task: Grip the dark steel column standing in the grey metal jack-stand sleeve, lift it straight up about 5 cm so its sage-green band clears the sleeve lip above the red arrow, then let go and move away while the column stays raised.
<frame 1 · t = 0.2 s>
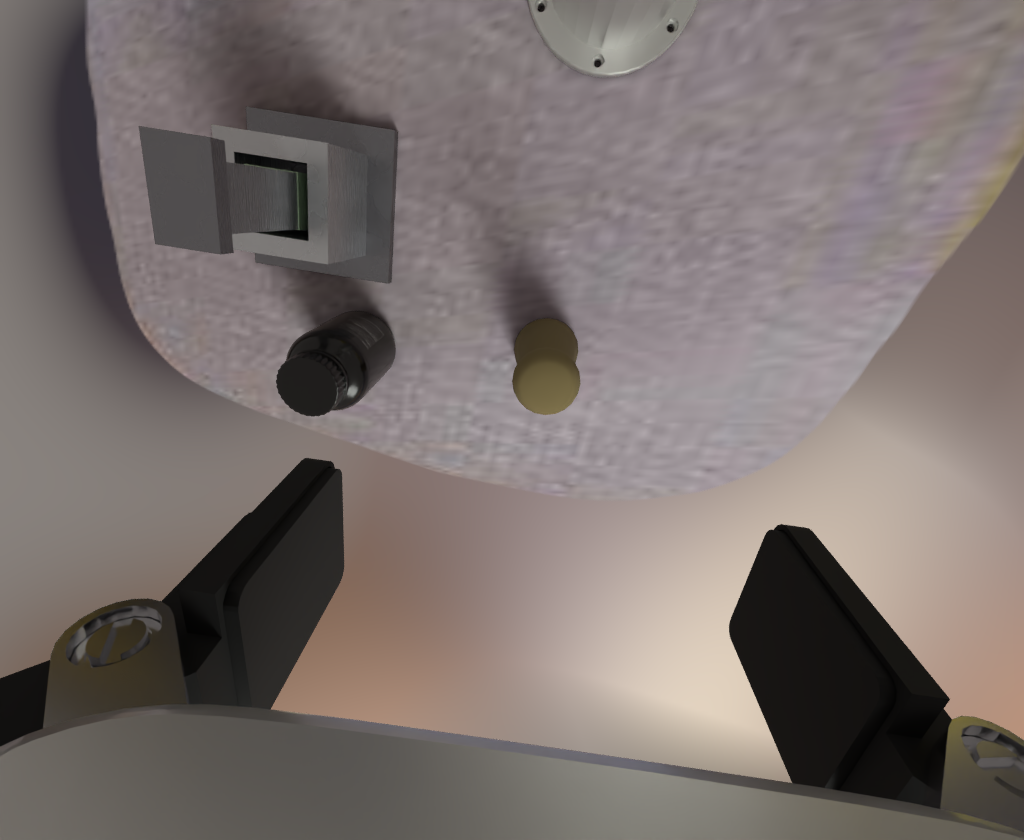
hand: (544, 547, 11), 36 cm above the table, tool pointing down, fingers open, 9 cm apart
column: (265, 197, 33), point 10 cm above the table, slide at 0.0 cm
cork: (546, 349, 46), on the table
stand base: (325, 200, 42), on the table
supplement bottle: (363, 344, 47), on the table
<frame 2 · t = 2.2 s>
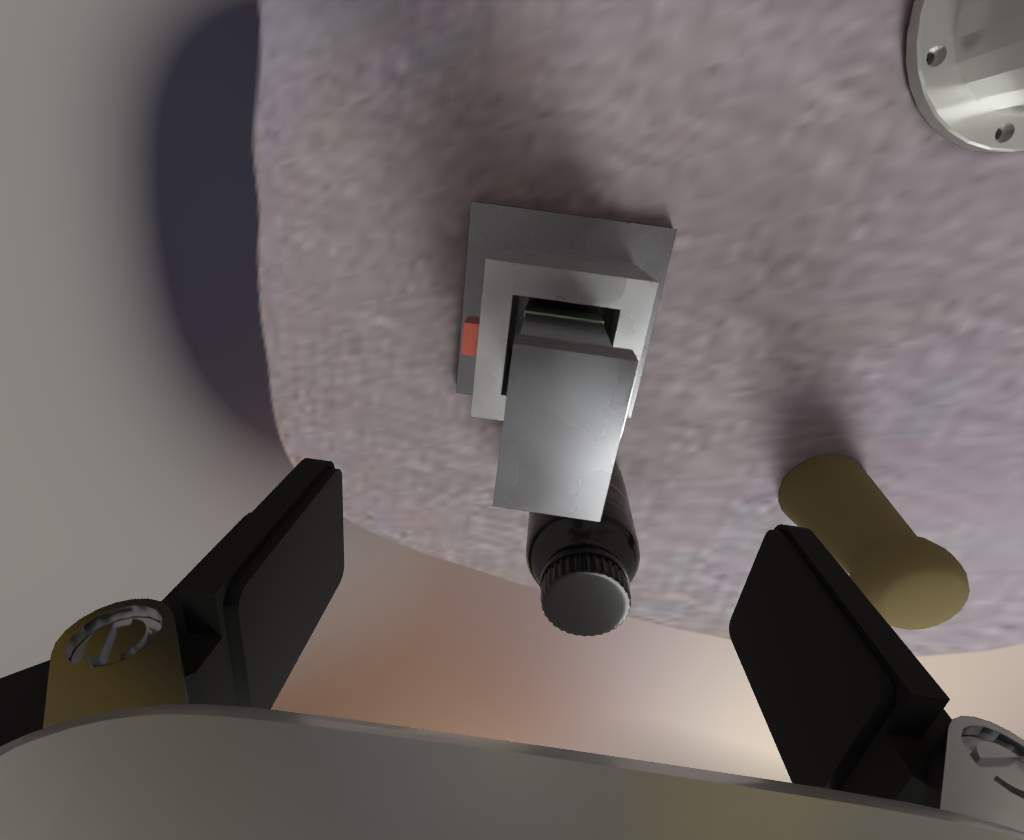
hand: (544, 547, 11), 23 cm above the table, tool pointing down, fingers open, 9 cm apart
column: (558, 359, 23), point 10 cm above the table, slide at 0.0 cm
cork: (821, 489, 35), on the table
stand base: (557, 314, 32), on the table
supplement bottle: (576, 482, 37), on the table
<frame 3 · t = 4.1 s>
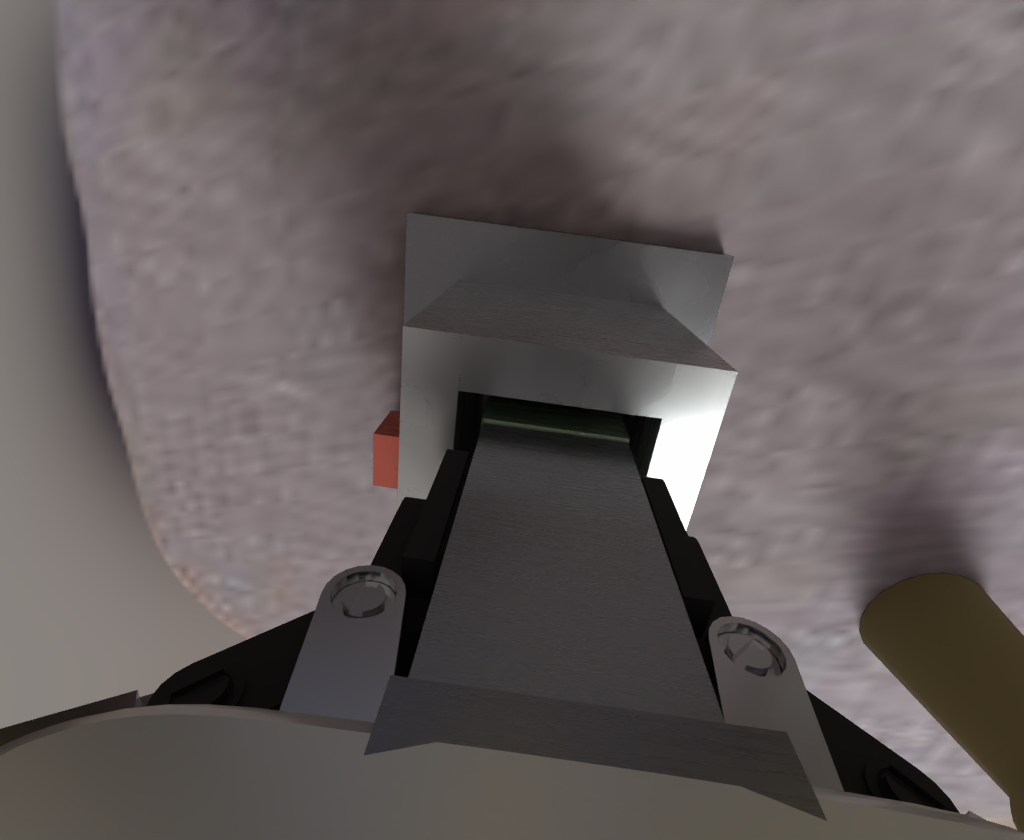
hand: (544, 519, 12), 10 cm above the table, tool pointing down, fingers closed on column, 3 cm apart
column: (544, 510, 12), point 10 cm above the table, slide at 0.0 cm, touching gripper
cork: (920, 616, 25), on the table
stand base: (545, 380, 21), on the table
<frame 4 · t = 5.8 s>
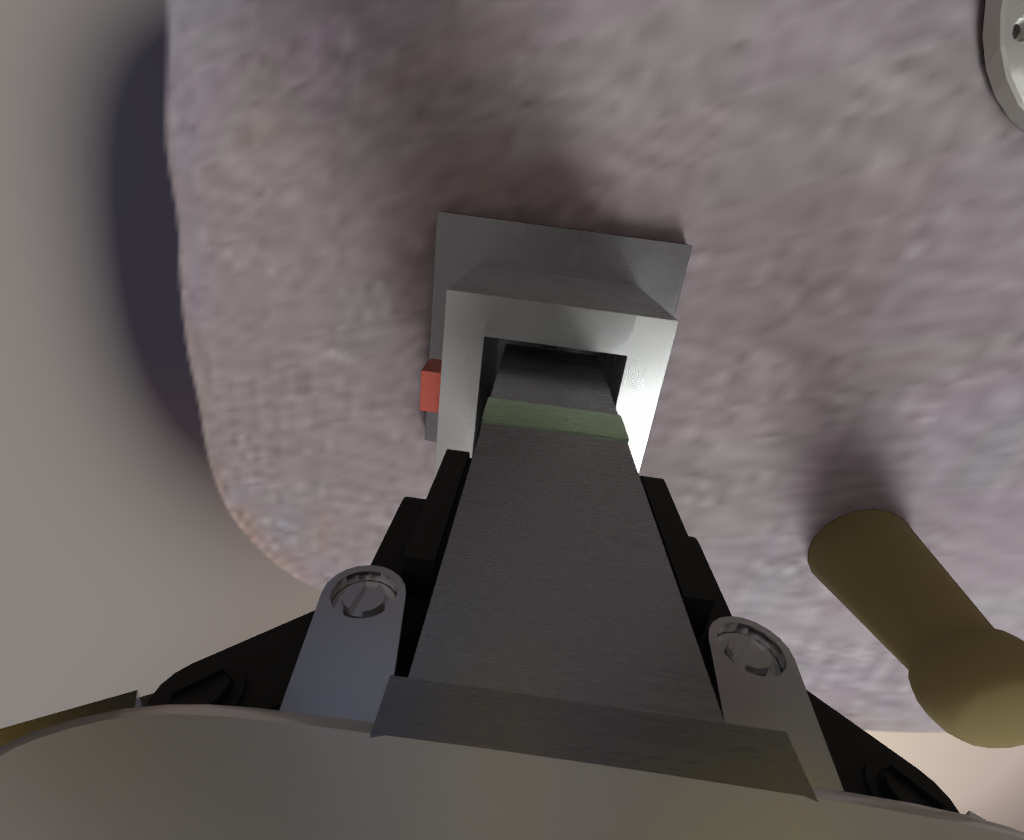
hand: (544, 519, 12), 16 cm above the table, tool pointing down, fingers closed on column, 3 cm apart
column: (544, 510, 12), point 15 cm above the table, slide at 5.5 cm, touching gripper
cork: (857, 548, 30), on the table
stand base: (545, 347, 26), on the table
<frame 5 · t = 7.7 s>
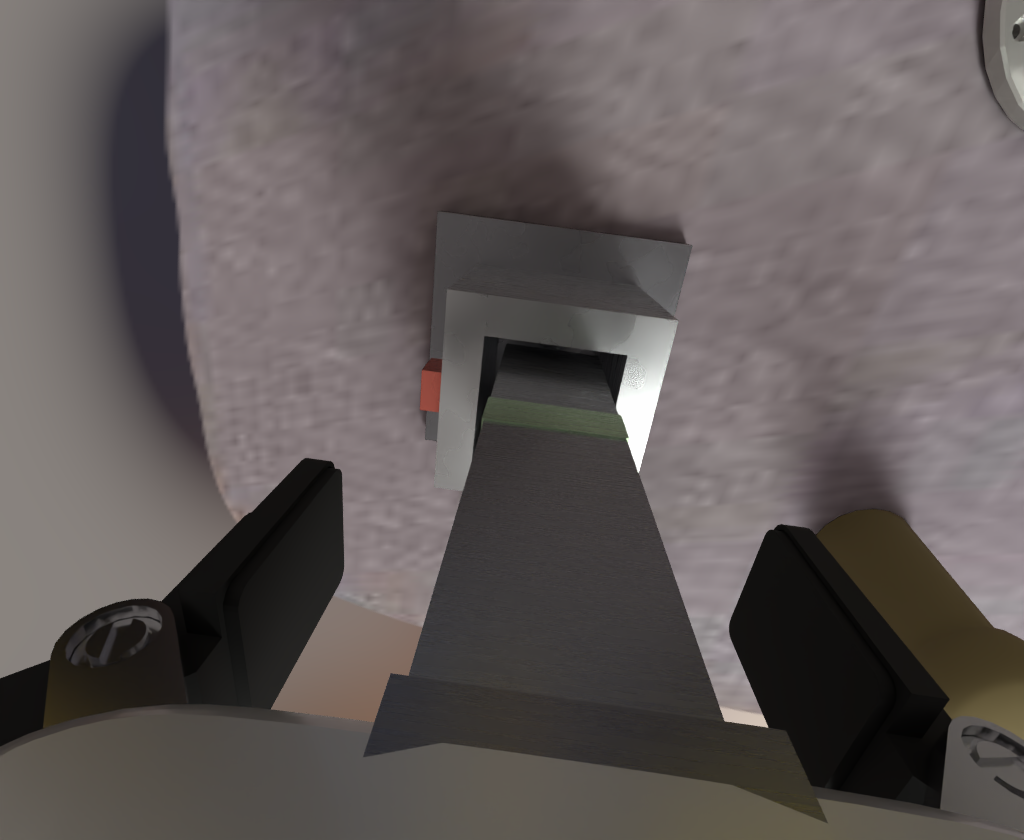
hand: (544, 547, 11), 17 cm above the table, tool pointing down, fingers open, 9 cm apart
column: (544, 509, 12), point 15 cm above the table, slide at 5.5 cm
cork: (857, 548, 30), on the table
stand base: (545, 346, 26), on the table
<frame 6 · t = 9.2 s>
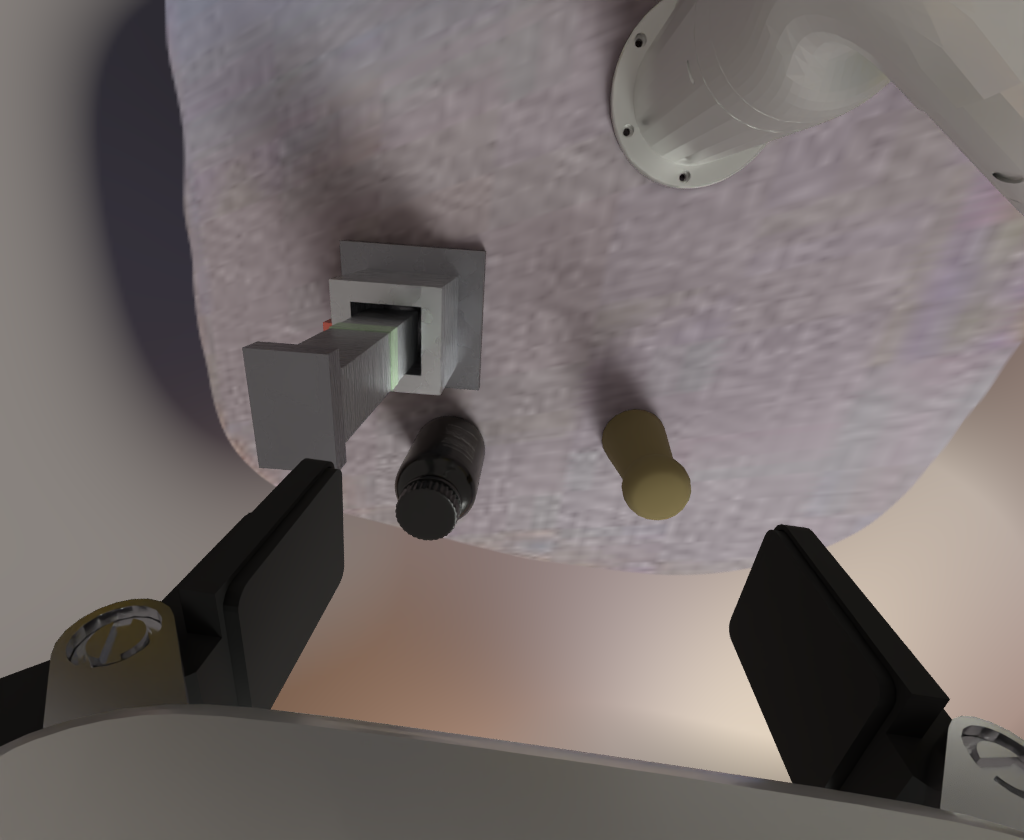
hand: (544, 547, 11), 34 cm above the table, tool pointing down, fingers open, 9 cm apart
column: (356, 363, 29), point 15 cm above the table, slide at 5.5 cm
cork: (633, 437, 47), on the table
stand base: (415, 317, 43), on the table
supplement bottle: (451, 445, 48), on the table
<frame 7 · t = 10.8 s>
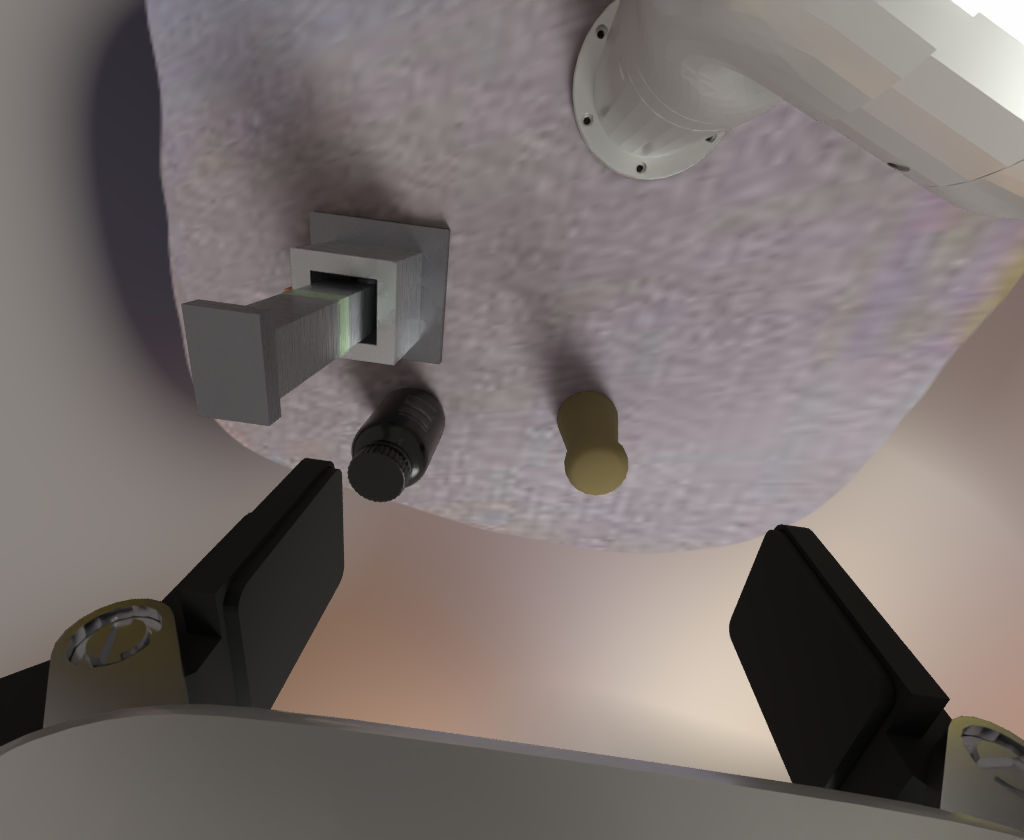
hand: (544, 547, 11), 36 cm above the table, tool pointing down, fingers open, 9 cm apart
column: (306, 328, 31), point 15 cm above the table, slide at 5.5 cm
cork: (587, 418, 49), on the table
stand base: (381, 290, 45), on the table
supplement bottle: (414, 416, 50), on the table
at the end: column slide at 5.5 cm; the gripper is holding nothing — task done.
